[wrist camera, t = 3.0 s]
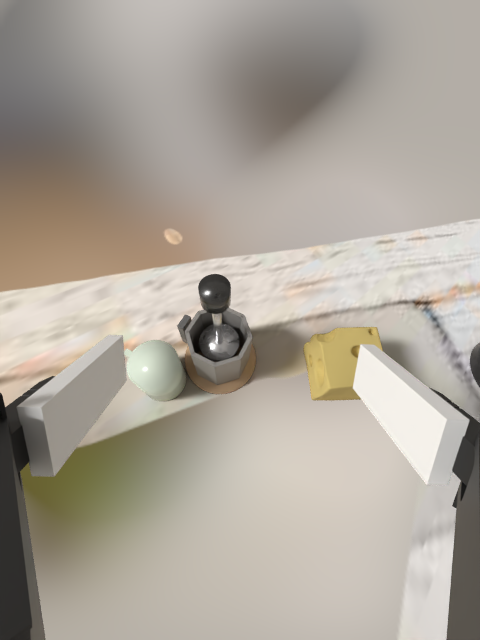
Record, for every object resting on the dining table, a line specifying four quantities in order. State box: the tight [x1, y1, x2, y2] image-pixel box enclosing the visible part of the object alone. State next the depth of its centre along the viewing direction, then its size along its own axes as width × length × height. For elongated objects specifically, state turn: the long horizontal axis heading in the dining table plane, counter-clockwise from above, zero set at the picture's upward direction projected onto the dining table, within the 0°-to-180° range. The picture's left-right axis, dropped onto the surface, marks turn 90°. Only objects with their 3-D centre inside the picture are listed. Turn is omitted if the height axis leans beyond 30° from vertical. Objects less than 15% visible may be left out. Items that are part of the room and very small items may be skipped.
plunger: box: [198, 274, 239, 362], centre depth 38 cm, size 6×6×16 cm
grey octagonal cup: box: [177, 308, 256, 394], centre depth 47 cm, size 13×13×11 cm
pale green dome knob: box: [124, 340, 186, 402], centre depth 46 cm, size 8×10×9 cm
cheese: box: [304, 327, 383, 400], centre depth 47 cm, size 10×11×10 cm
